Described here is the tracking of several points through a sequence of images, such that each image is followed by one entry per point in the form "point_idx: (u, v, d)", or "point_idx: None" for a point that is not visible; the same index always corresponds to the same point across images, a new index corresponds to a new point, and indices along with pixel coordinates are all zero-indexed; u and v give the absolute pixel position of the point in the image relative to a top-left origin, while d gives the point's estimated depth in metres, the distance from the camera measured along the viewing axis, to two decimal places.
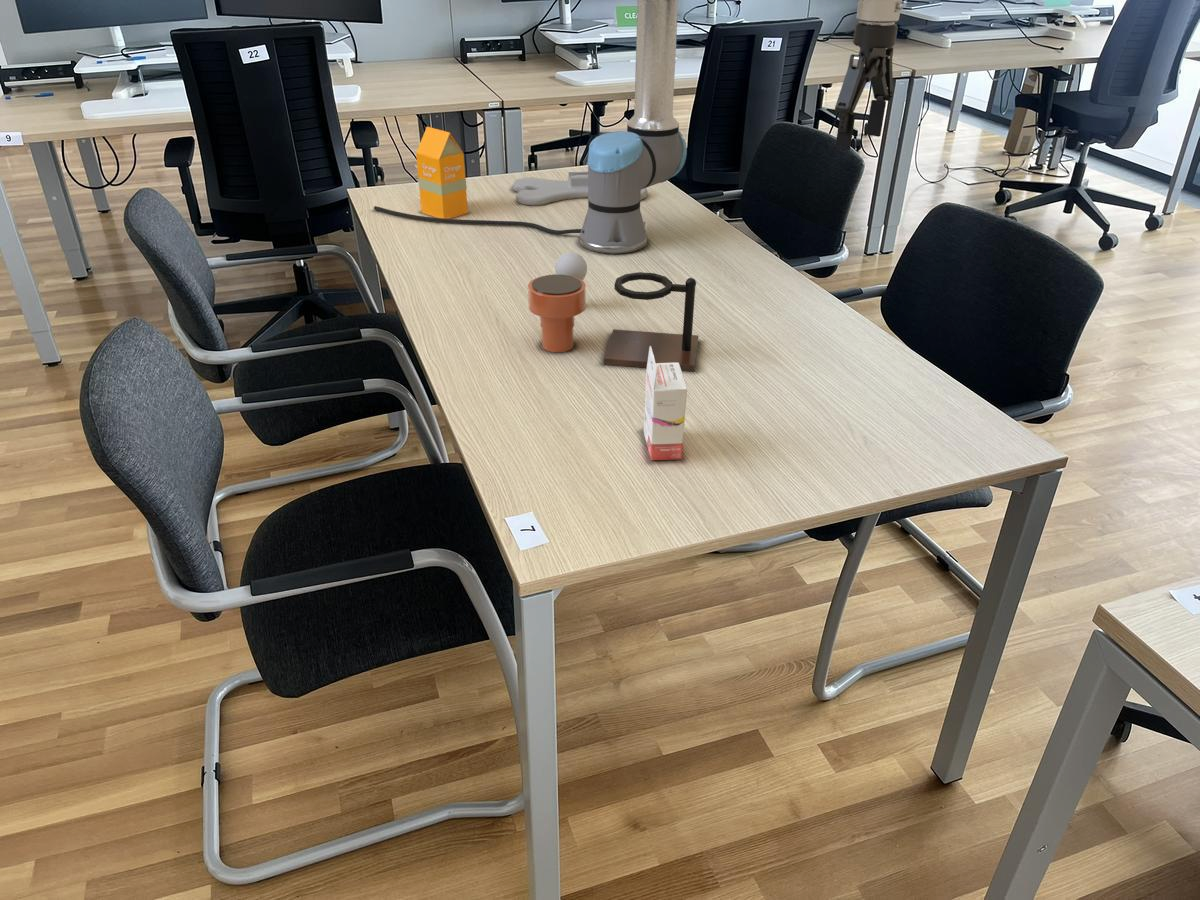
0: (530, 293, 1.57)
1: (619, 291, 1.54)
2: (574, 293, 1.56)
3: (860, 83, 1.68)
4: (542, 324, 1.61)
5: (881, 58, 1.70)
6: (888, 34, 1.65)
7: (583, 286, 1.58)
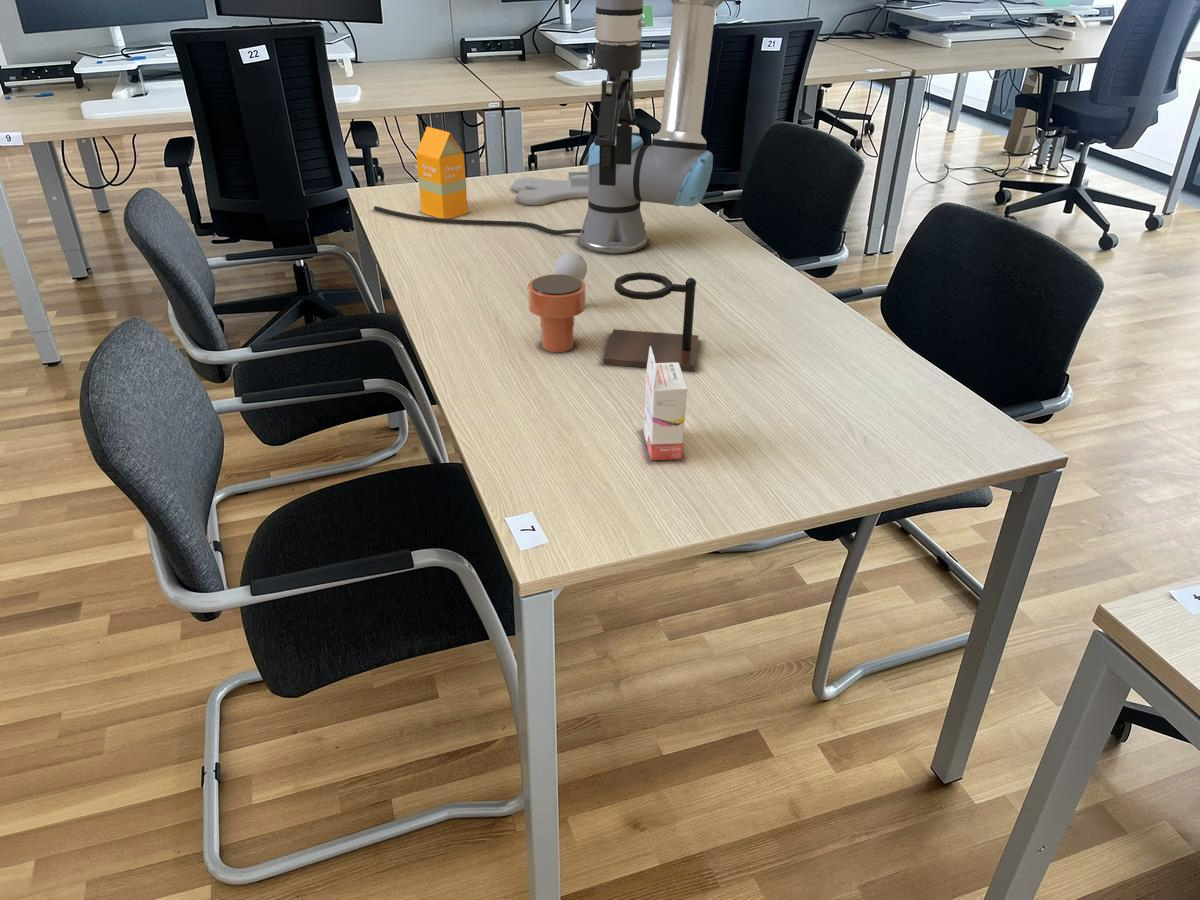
0: (530, 293, 1.57)
1: (619, 291, 1.54)
2: (574, 293, 1.56)
3: None
4: (542, 324, 1.61)
5: (628, 81, 1.53)
6: (636, 54, 1.48)
7: (583, 286, 1.58)
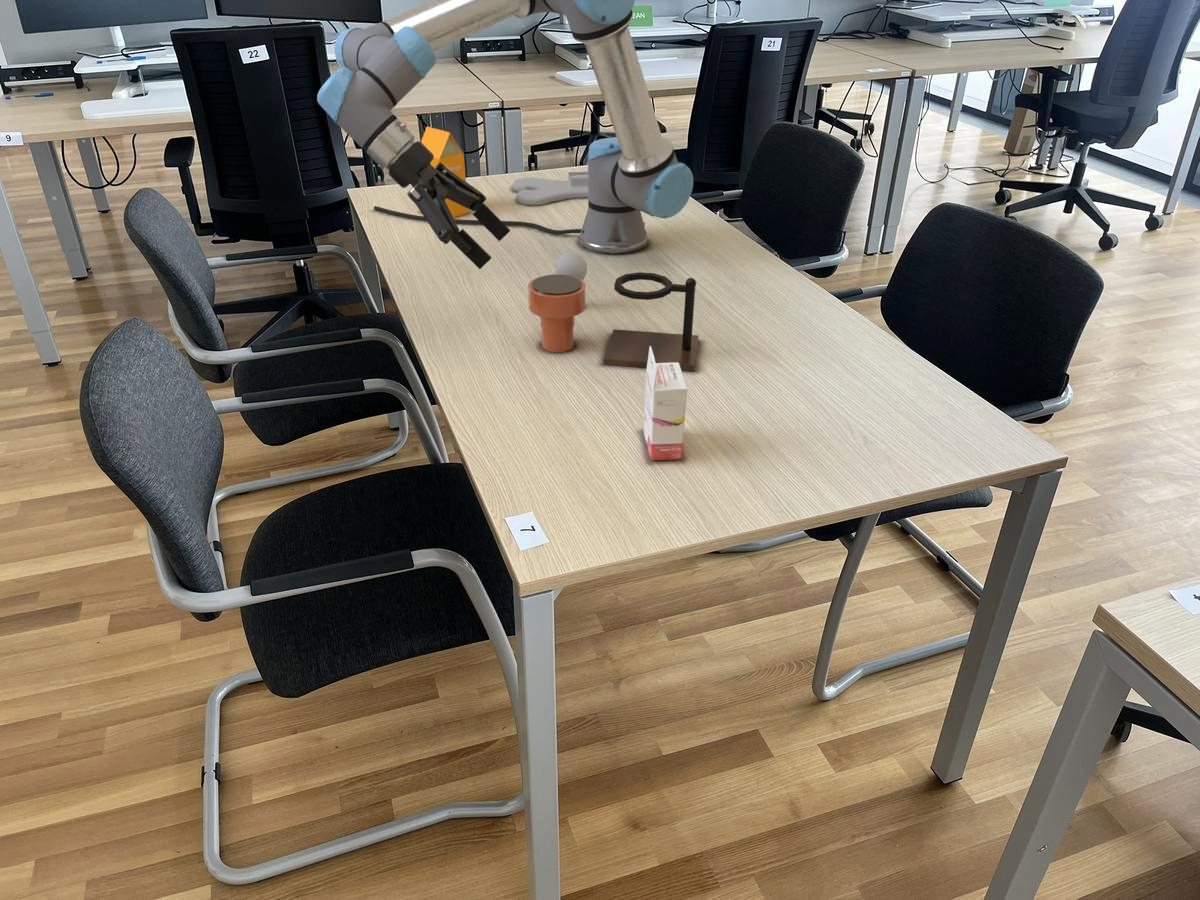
0: (530, 293, 1.57)
1: (619, 291, 1.54)
2: (574, 293, 1.56)
3: (440, 205, 1.49)
4: (542, 324, 1.61)
5: (436, 175, 1.52)
6: (417, 151, 1.48)
7: (583, 286, 1.58)
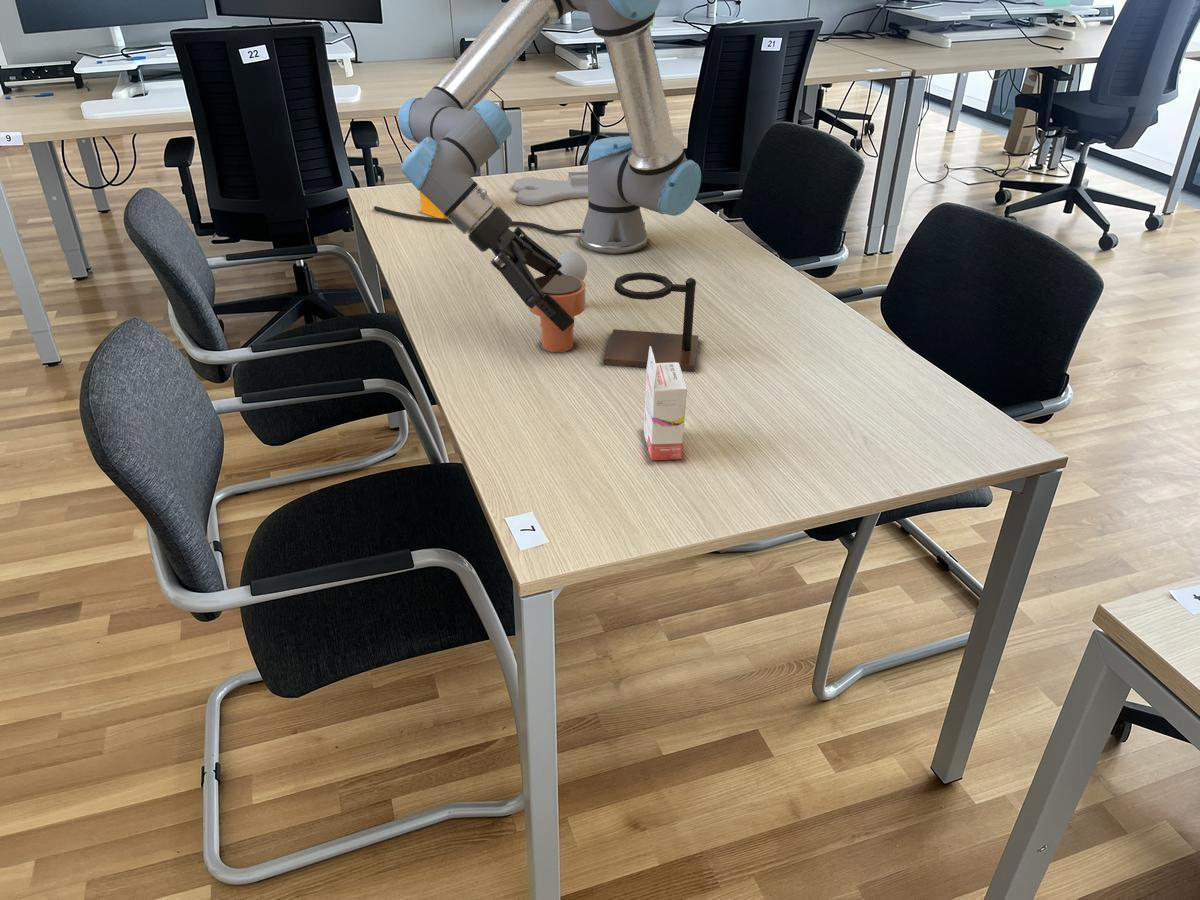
0: None
1: (619, 291, 1.54)
2: (574, 293, 1.56)
3: (522, 270, 1.54)
4: (542, 324, 1.61)
5: (514, 238, 1.56)
6: (498, 217, 1.52)
7: (583, 286, 1.58)
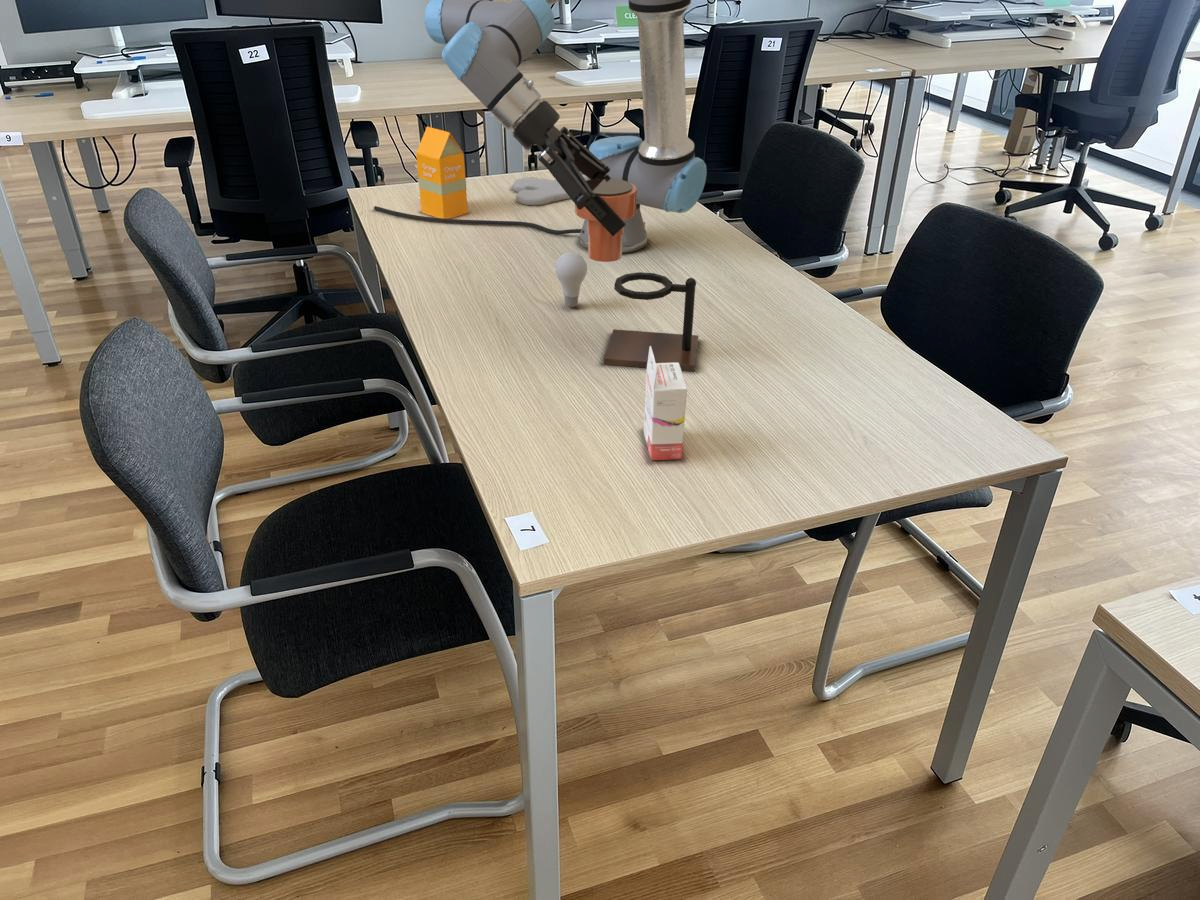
0: None
1: (619, 291, 1.54)
2: (625, 194, 1.45)
3: (571, 168, 1.43)
4: (589, 231, 1.51)
5: (561, 135, 1.46)
6: (545, 110, 1.41)
7: (634, 188, 1.48)
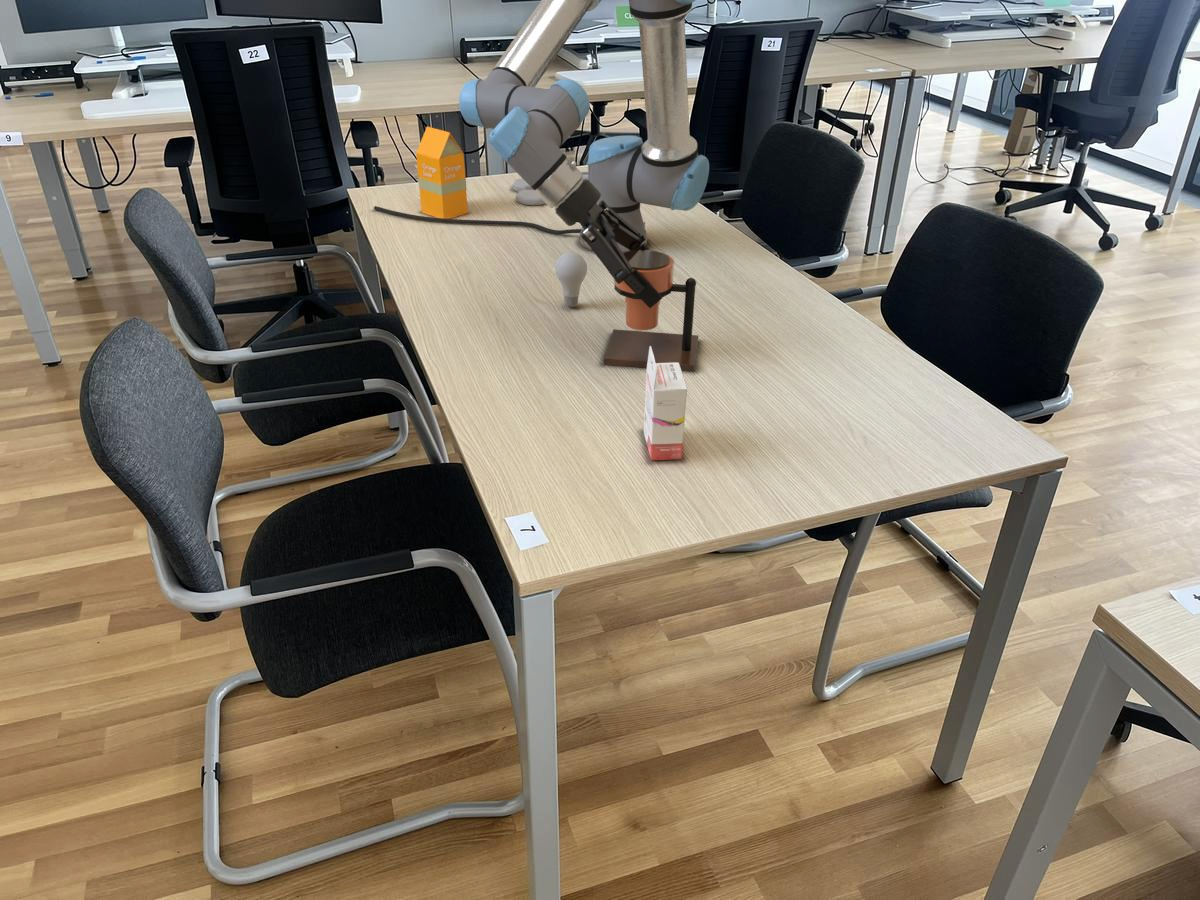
0: None
1: (619, 291, 1.54)
2: (663, 268, 1.51)
3: (611, 245, 1.49)
4: (628, 301, 1.56)
5: (602, 212, 1.52)
6: (588, 190, 1.47)
7: (671, 261, 1.54)
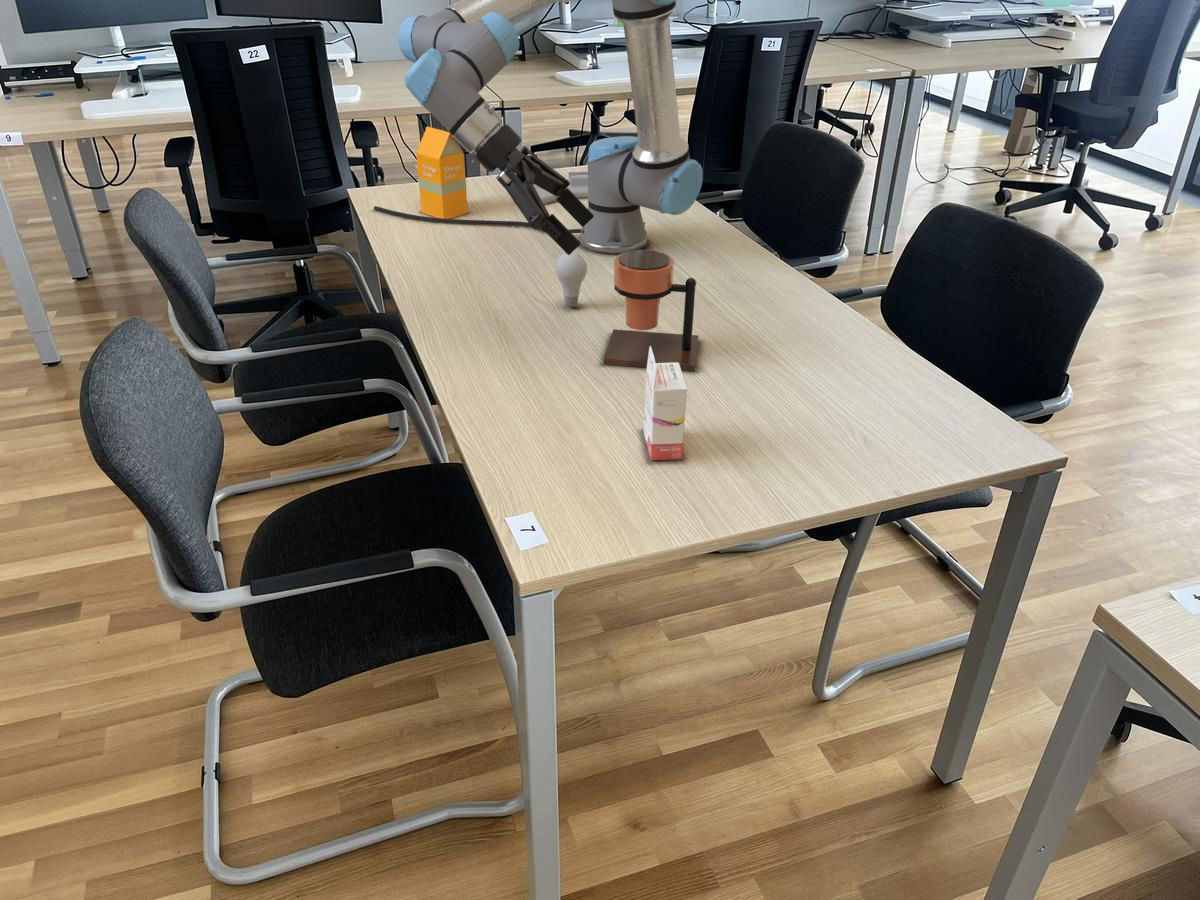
0: (617, 268, 1.52)
1: (619, 291, 1.54)
2: (663, 268, 1.51)
3: (529, 189, 1.45)
4: (628, 301, 1.56)
5: (523, 159, 1.49)
6: (506, 134, 1.44)
7: (671, 261, 1.54)
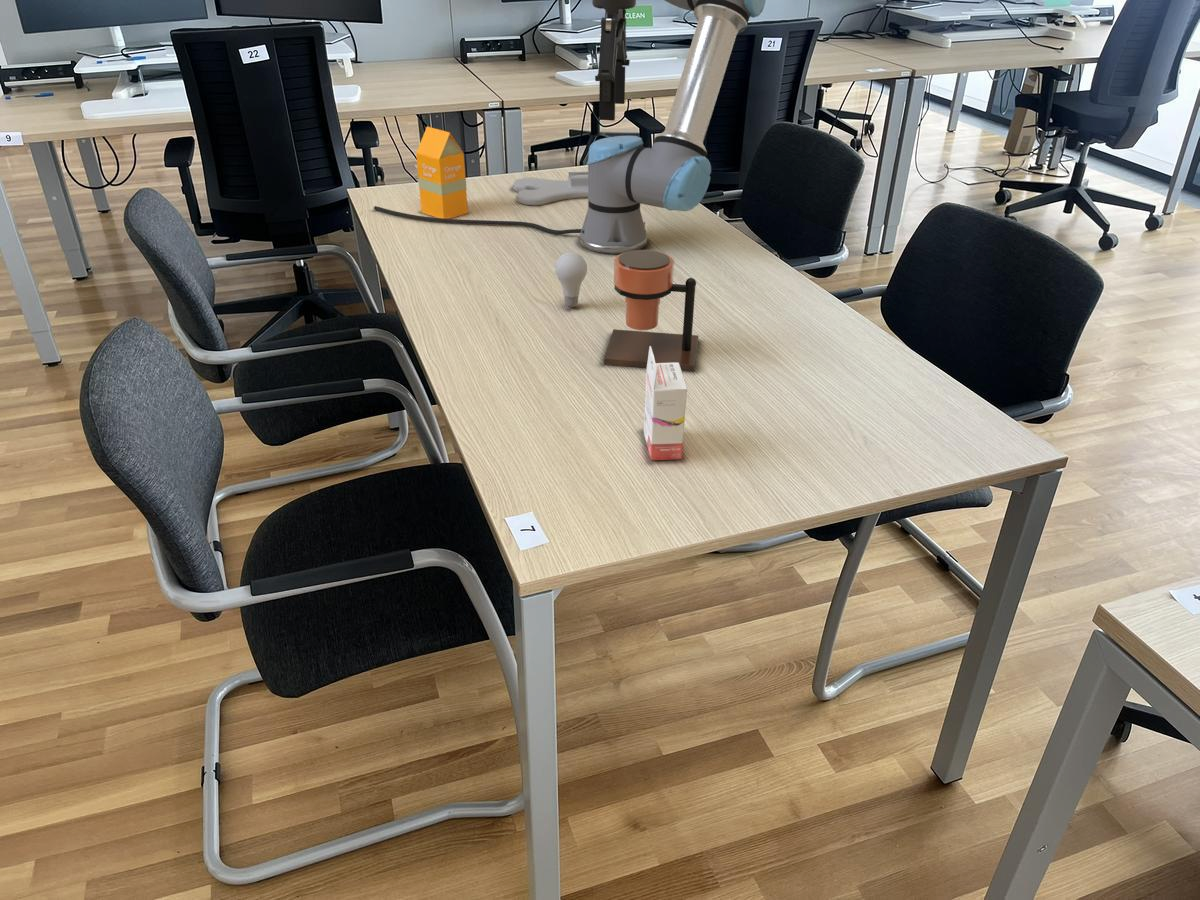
0: (617, 268, 1.52)
1: (619, 291, 1.54)
2: (663, 268, 1.51)
3: None
4: (628, 301, 1.56)
5: (623, 20, 1.61)
6: None
7: (671, 261, 1.54)
